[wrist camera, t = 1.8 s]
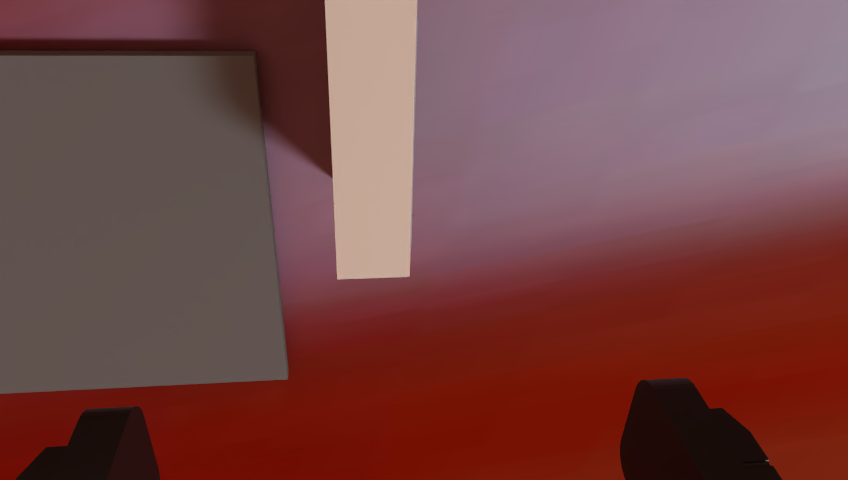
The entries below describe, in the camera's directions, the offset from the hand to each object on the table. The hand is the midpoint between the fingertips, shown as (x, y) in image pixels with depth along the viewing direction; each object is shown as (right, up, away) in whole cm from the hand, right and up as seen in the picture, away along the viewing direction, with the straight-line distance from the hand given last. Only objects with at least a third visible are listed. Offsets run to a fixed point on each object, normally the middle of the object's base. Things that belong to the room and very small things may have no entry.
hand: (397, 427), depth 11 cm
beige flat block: (-2, +9, +15) cm, 17 cm away
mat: (-13, +3, +17) cm, 22 cm away
